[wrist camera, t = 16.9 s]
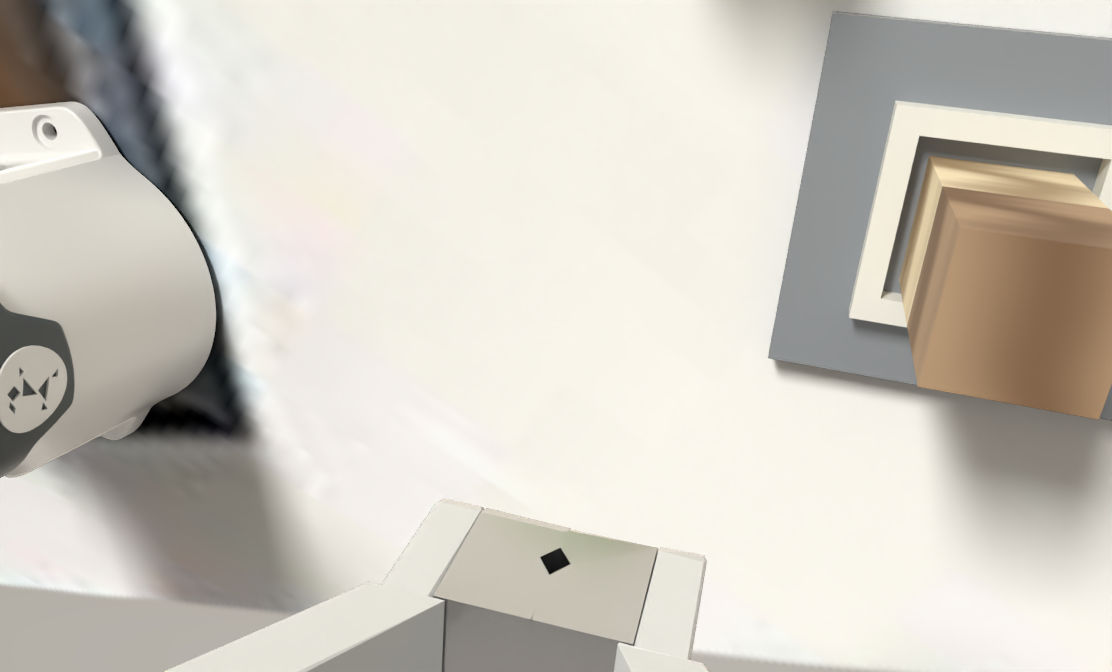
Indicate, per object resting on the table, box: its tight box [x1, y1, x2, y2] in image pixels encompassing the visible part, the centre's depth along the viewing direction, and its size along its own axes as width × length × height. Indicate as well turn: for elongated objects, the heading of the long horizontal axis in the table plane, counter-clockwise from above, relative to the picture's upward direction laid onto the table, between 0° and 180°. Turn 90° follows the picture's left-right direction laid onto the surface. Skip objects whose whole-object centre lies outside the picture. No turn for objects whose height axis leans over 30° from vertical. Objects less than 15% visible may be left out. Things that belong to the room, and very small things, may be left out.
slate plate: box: [768, 11, 1112, 421], centre depth 35 cm, size 14×14×2 cm
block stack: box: [899, 156, 1112, 420], centre depth 30 cm, size 5×5×10 cm
